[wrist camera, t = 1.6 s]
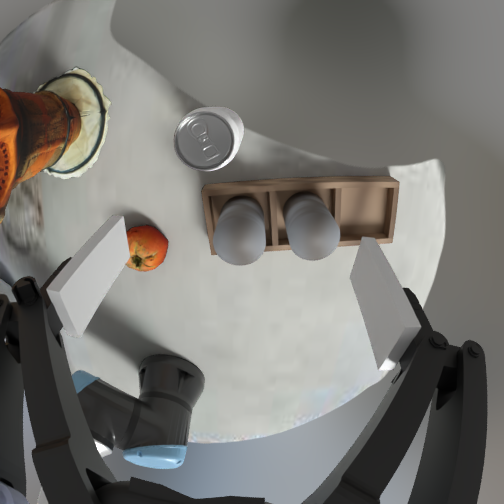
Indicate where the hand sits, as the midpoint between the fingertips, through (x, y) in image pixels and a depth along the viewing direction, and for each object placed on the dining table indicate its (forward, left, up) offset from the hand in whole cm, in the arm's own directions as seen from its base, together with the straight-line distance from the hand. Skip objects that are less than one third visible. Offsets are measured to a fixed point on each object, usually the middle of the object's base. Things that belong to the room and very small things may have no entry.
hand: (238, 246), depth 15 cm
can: (-3, +4, -25) cm, 25 cm away
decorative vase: (-27, +10, -25) cm, 38 cm away
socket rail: (+7, -8, -24) cm, 27 cm away
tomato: (-17, -11, -25) cm, 32 cm away
